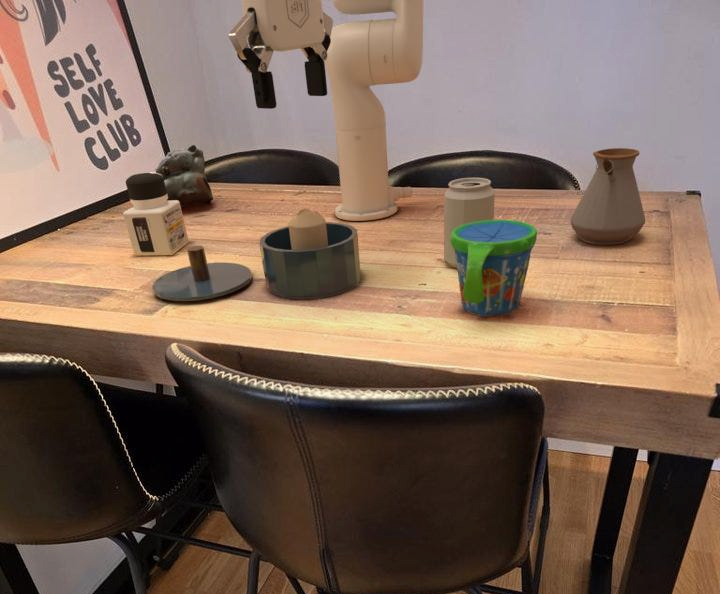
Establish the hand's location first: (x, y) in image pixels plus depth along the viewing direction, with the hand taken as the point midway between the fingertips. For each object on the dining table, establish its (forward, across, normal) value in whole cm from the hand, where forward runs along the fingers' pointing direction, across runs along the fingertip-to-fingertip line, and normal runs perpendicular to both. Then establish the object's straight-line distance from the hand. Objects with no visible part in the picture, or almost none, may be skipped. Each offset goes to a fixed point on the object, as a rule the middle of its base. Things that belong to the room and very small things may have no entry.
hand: (293, 101), depth 86 cm
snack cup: (+24, +3, -29) cm, 38 cm away
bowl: (+24, -1, 0) cm, 24 cm away
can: (+25, +18, -17) cm, 35 cm away
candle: (+24, -1, 0) cm, 24 cm away
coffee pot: (+25, +33, -32) cm, 52 cm away
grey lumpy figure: (+25, +21, +61) cm, 69 cm away
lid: (+24, -11, +14) cm, 30 cm away
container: (+25, -2, +38) cm, 46 cm away
